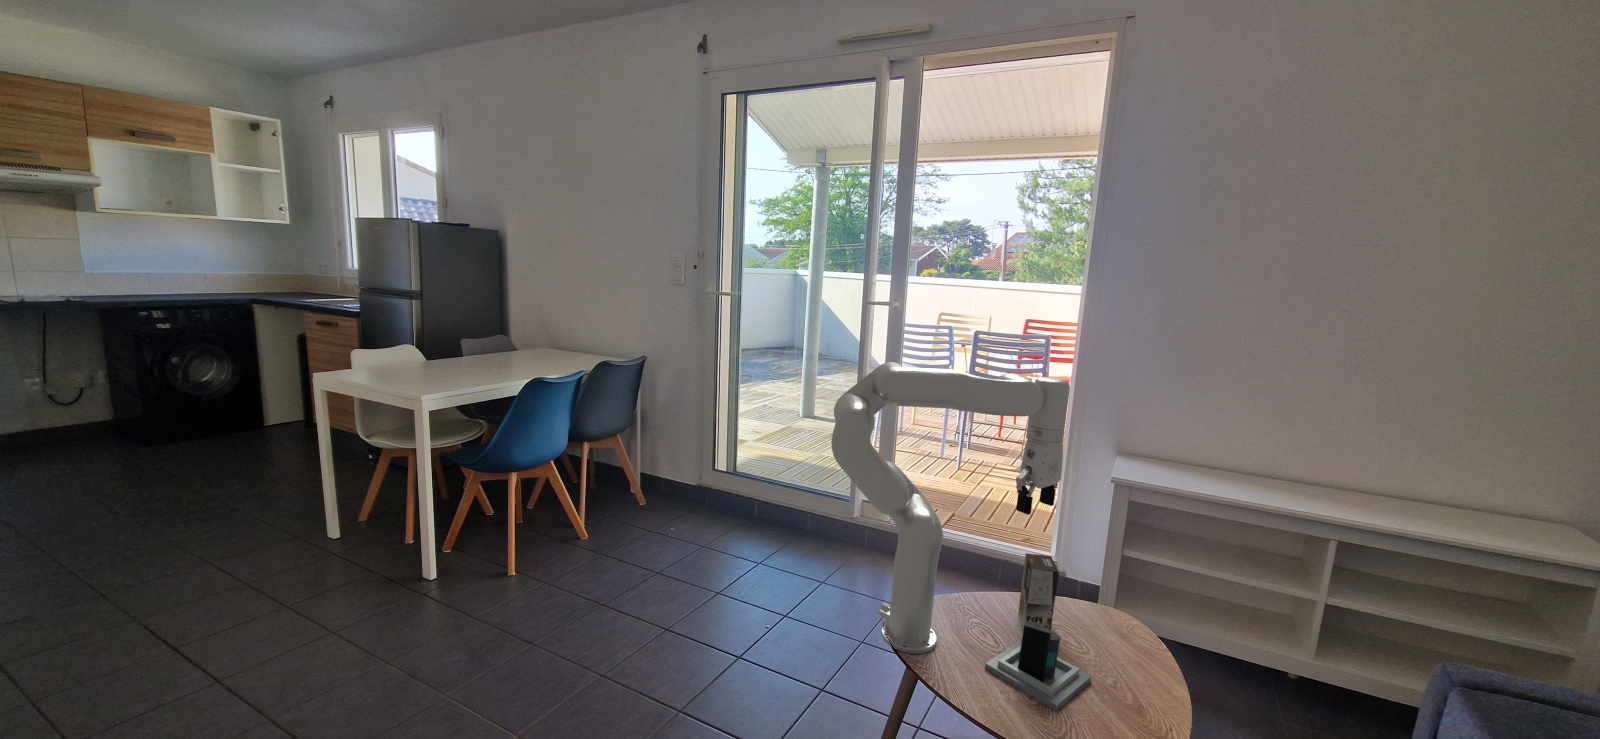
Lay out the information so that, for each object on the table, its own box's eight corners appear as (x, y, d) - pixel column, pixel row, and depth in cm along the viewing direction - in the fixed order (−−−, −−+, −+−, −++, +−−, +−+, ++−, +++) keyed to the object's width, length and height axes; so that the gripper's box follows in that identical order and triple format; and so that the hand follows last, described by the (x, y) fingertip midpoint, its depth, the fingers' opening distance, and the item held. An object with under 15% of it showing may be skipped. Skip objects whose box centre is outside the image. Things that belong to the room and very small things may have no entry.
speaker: (1041, 686, 125) (1048, 637, 125) (1016, 673, 130) (1022, 625, 129) (1060, 676, 130) (1066, 629, 130) (1034, 663, 135) (1040, 617, 134)
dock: (984, 668, 133) (986, 658, 132) (1021, 644, 142) (1022, 634, 142) (1055, 710, 121) (1057, 699, 120) (1090, 681, 130) (1092, 671, 130)
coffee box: (1051, 635, 147) (1059, 572, 144) (1023, 631, 148) (1031, 568, 145) (1044, 615, 155) (1052, 555, 153) (1017, 611, 157) (1025, 551, 154)
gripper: (1040, 443, 126) (1029, 522, 129) (1080, 433, 137) (1070, 506, 140) (1007, 434, 132) (998, 510, 135) (1049, 425, 143) (1039, 495, 146)
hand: (1035, 508), depth 137 cm, fingers open, 9 cm apart
